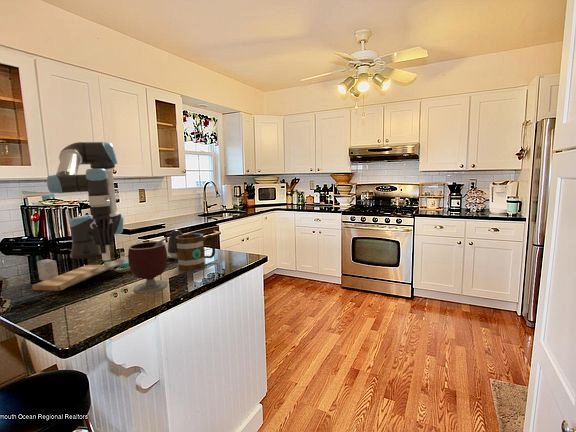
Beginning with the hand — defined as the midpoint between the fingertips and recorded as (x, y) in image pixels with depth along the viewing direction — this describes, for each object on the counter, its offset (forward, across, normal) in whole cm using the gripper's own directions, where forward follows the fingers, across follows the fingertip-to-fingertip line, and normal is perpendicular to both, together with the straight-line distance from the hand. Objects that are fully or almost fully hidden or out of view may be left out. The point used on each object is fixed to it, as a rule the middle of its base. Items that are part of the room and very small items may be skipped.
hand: (106, 259), depth 134 cm
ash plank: (+6, 0, +5) cm, 7 cm away
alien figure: (+9, +28, +7) cm, 30 cm away
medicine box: (+9, -2, +28) cm, 30 cm away
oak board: (+9, 0, +17) cm, 19 cm away
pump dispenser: (+9, +36, -13) cm, 39 cm away
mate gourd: (+9, -8, -26) cm, 29 cm away
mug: (+9, +22, -31) cm, 39 cm away
